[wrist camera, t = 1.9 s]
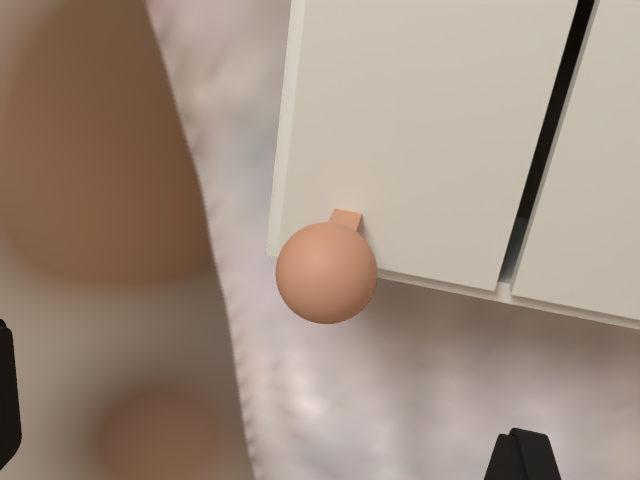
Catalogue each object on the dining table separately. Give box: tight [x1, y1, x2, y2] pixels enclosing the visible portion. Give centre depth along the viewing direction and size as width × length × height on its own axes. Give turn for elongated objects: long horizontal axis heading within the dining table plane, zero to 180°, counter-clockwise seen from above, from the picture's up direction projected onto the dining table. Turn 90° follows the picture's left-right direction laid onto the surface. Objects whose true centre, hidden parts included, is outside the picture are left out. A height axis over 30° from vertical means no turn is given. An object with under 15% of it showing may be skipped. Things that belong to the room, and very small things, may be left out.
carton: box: [266, 0, 640, 330], centre depth 23 cm, size 18×15×9 cm
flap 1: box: [276, 0, 578, 324], centre depth 16 cm, size 8×13×6 cm, turn 172°
